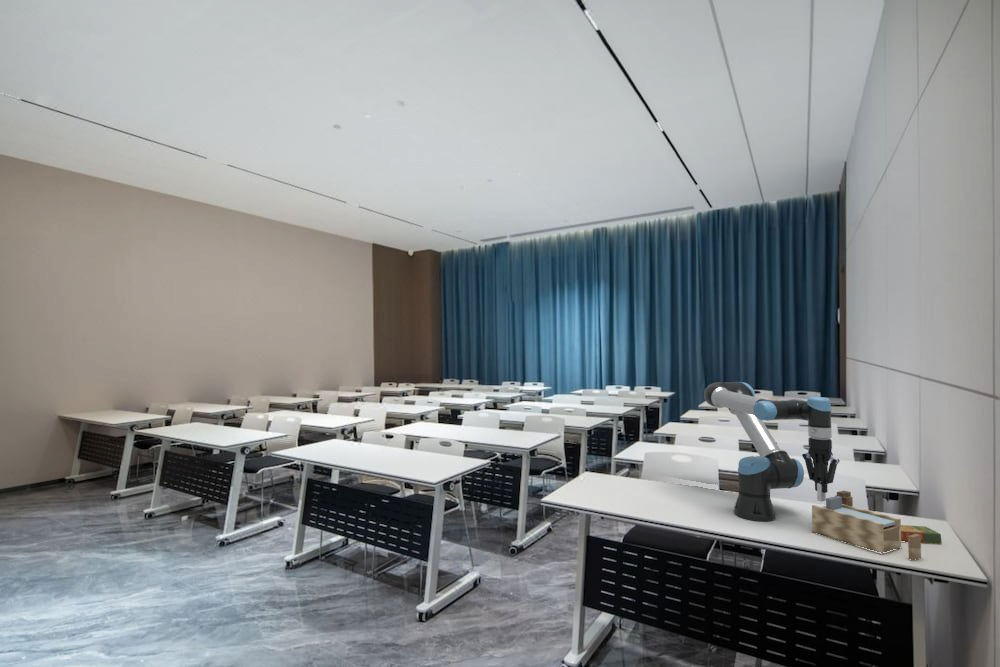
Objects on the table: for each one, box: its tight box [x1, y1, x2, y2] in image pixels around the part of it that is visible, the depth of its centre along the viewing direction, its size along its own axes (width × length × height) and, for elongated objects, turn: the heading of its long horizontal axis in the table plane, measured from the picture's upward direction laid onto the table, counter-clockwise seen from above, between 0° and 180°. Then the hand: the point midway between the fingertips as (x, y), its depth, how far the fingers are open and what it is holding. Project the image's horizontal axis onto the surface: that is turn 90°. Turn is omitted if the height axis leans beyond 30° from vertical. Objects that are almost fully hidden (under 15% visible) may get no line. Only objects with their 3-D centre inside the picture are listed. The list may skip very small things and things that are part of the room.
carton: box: [901, 524, 942, 546], centre depth 181 cm, size 8×16×4 cm, turn 80°
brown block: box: [835, 490, 854, 507], centre depth 193 cm, size 5×4×14 cm
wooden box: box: [811, 504, 922, 561], centre depth 177 cm, size 30×12×10 cm, turn 27°
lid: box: [822, 495, 895, 528], centre depth 180 cm, size 21×9×5 cm, turn 27°
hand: (821, 500), depth 190 cm, fingers closed
